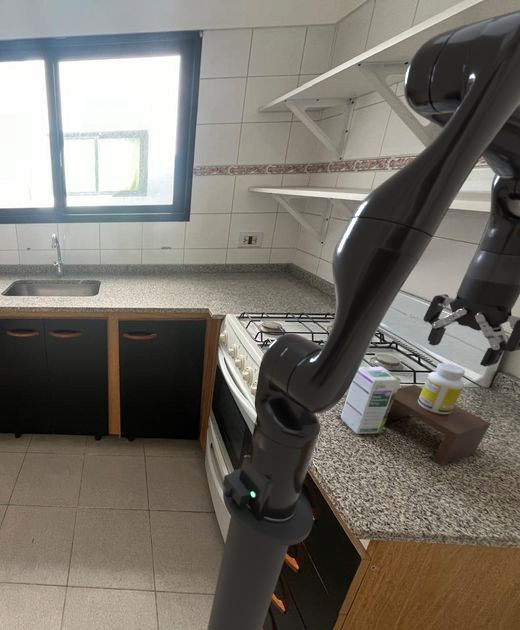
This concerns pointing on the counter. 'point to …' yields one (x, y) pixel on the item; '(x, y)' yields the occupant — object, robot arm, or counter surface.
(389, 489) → the counter surface
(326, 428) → the counter surface
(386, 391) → the syrup box
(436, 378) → the supplement bottle
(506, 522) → the counter surface
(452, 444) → the brown wooden arch block
